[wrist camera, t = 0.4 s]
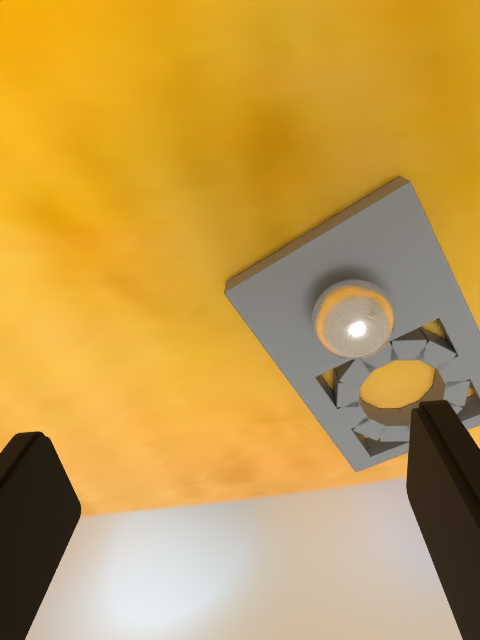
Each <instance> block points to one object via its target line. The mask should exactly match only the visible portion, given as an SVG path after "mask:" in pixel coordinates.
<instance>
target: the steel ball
mask: <svg viewBox="0 0 480 640" xmlns="http://www.w3.org/2000/svg"><path fill="white" fill-rule="evenodd" d="M395 323H396V316H395V310H394V306H393V304H392V302H391V300H390V298H389V297H388V295H387V294H386V293H385V292H384V291H383V290H382V289H381V288H379V287H378V286H376V285H375V284H373V283H371V282H368V281H364V280H359V279H348V280H343V281H340V282H337V283H335V284H333V285H331V286H330V287H328V288H327V289H326V290H325V291H324V292H323V293H322V294H321V295H320V297H319V298H318V300H317V301H316V303H315V306H314V309H313V314H312V325H313V330H314V333H315V335H316V337H317V339H318V341H319V342H320V343H321V345H322V346H323V347H324V348H325V349H326V350H328V351H329V352H330V353H332V354H334V355H336V356H338V357H341V358H344V359H363V358H367V357H370V356H372V355H374V354H376V353H377V352H379V351H380V350H381V349H383V348H384V347H385V346H386V344H387V343H388V342H389V340H390V339H391V337H392V335H393V332H394V329H395Z"/></svg>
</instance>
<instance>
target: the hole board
mask: <svg viewBox="0 0 480 640" xmlns="http://www.w3.org/2000/svg"><path fill="white" fill-rule="evenodd" d="M348 279H359V280H364V281H368V282H371V283H373V284H375V285H376V286H378V287H379V288H381V289H382V290H383V291H384V292H385V293H386V294H387V295H388V297H389V298H390V300H391V302H392V304H393V306H394V310H395V316H396V323H395V329H394V332H393V335H392V337H391V339H390V340H389V342H388V343H387V344H386V346H385V347H384V348H383V349H381V350H380V351H379V352H377V353H376V354H374V355H372V356H370V357H367V358H363V359H344V358H341V357H338V356H336V355H334V354H332V353H330V352H329V351H328V350H326V349H325V348H324V347H323V346H322V345H321V343H320V342H319V341H318V339H317V337H316V335H315V333H314V330H313V325H312V314H313V309H314V306H315V303H316V301H317V300H318V298H319V297H320V295H321V294H322V293H323V292H324V291H325V290H326V289H327V288H328V287H330V286H331V285H333V284H335V283H337V282H340V281H343V280H348ZM224 294H225V295H226V297H227V298H228V299H229V301H230V302H231V303H232V305H233V306H234V308H235V309H236V310H237V312H238V313H239V314H240V316H241V317H242V318H243V320H244V321H245V323H246V324H247V325H248V327H249V328H250V329H251V331H252V332H253V333H254V335H255V336H256V337H257V339H258V340H259V342H260V343H261V344H262V346H263V347H264V348H265V350H266V351H267V352H268V354H269V355H270V356H271V358H272V359H273V361H274V362H275V363H276V365H277V366H278V367H279V369H280V370H281V371H282V373H283V374H284V376H285V377H286V378H287V380H288V381H289V382H290V384H291V385H292V386H293V388H294V389H295V390H296V392H297V393H298V395H299V396H300V397H301V399H302V400H303V401H304V403H305V404H306V405H307V407H308V408H309V409H310V411H311V412H312V414H313V415H314V416H315V418H316V419H317V420H318V422H319V423H320V424H321V426H322V427H323V429H324V430H325V431H326V433H327V434H328V435H329V437H330V438H331V439H332V441H333V442H334V443H335V445H336V446H337V448H338V449H339V450H340V452H341V453H342V454H343V456H344V457H345V458H346V460H347V461H348V462H349V464H350V465H351V467H352V468H353V469H354V471H355V472H358V471H361V470H364V469H366V468H369V467H372V466H374V465H377V464H379V463H382V462H385V461H387V460H390V459H392V458H395V457H398V456H400V455H403V454H406V453H408V452H409V438H410V424H411V411H412V409H413V408H418V407H419V403H420V402H421V401H433V400H447V401H448V402H449V404H450V405H451V407H452V408H453V410H454V411H455V413H456V414H457V416H458V417H459V419H460V420H461V422H462V423H463V425H464V426H465V428H466V429H467V430H468V429H471V428H474V427H476V426H479V425H480V331H479V329H478V327H477V325H476V323H475V320H474V318H473V316H472V314H471V312H470V310H469V307H468V305H467V303H466V301H465V299H464V297H463V294H462V292H461V290H460V288H459V286H458V284H457V281H456V279H455V277H454V275H453V273H452V271H451V269H450V266H449V264H448V262H447V260H446V258H445V256H444V253H443V251H442V249H441V247H440V245H439V243H438V240H437V238H436V236H435V234H434V232H433V230H432V227H431V225H430V223H429V221H428V219H427V217H426V214H425V212H424V210H423V208H422V206H421V204H420V201H419V199H418V197H417V195H416V193H415V191H414V188H413V186H412V184H411V182H410V181H408V180H406V179H404V178H402V177H398V178H396V179H395V180H393V181H392V182H390V183H388V184H387V185H385V186H383V187H382V188H380V189H378V190H377V191H375V192H373V193H372V194H370V195H369V196H367V197H365V198H364V199H362V200H360V201H359V202H357V203H355V204H354V205H352V206H350V207H349V208H347V209H346V210H344V211H342V212H341V213H339V214H337V215H336V216H334V217H332V218H331V219H329V220H327V221H326V222H324V223H323V224H321V225H319V226H318V227H316V228H314V229H313V230H311V231H309V232H308V233H306V234H304V235H303V236H301V237H300V238H298V239H296V240H295V241H293V242H291V243H290V244H288V245H286V246H285V247H283V248H281V249H280V250H278V251H277V252H275V253H273V254H272V255H270V256H268V257H267V258H265V259H263V260H262V261H260V262H258V263H257V264H255V265H254V266H252V267H250V268H249V269H247V270H245V271H244V272H242V273H240V274H239V275H237V276H235V277H234V278H232V279H231V280H229V281H227V283H226V287H225V291H224ZM434 320H437V322H438V324H439V326H440V328H441V330H442V332H443V334H444V336H445V338H446V339H444V338H442V337H440V336H438V335H436V334H434V333H432V332H430V331H428V330H426V329H424V328H422V327H421V326H423V325H425V324H427V323H429V322H432V321H434ZM446 340H447V341H446ZM395 360H420V361H422V362H424V363H426V364H428V365H430V366H432V367H434V368H435V369H436V371H435V376H434V381H433V386H432V387H431V388H430V389H429V391H428V392H427V393H426V394H425V395H424V396H423V397H422V398H421V399H420V400H419V401H417V402H415V403H412V404H410V405H407V406H405V407H403V408H400V409H379V408H377V407H375V406H372V405H370V404H368V403H366V402H364V401H362V399H361V398H360V386H361V385H362V384H363V383H364V381H365V380H366V379H367V378H368V376H369V375H370V374H371V373H372V371H373V370H375V369H377V368H380V367H382V366H384V365H386V364H388V363H390V362H393V361H395ZM335 367H336V368H335ZM333 368H334V382H333V391H332V390H331V388H330V387H329V385H328V384H327V383H326V381H325V380H324V378H323V377H322V375H321V374H323V373H325V372H327V371H329V370H331V369H333ZM469 385H470V387H471V389H472V391H473V393H474V395H472V396H470V397H467V393H468V389H469ZM466 397H467V398H466ZM363 435H365V436H367V437H369V438H367V439H365V438H364V436H363Z"/></svg>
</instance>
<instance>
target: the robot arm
mask: <svg viewBox="0 0 480 640" xmlns="http://www.w3.org/2000/svg"><path fill="white" fill-rule="evenodd" d="M406 488H407V494H408V498H409V501H410V504H411V507H412V509H413V512H414V514H415V517H416V520H417V522H418V525H419V527H420V530H421V532H422V535H423V538H424V540H425V543H426V545H427V548H428V551H429V553H430V556H431V558H432V561H433V563H434V566H435V569H436V571H437V574H438V576H439V579H440V582H441V584H442V587H443V589H444V592H445V594H446V597H447V600H448V602H449V605H450V607H451V610H452V613H453V615H454V618H455V620H456V623H457V625H458V628H459V631H460V633H461V636H462V638H463V640H480V449H479V448H478V446H477V444H476V443H475V441H474V440H473V438H472V437H471V435H470V434H469V432H468V431H467V429H466V428H465V426H464V425H463V423H462V422H461V420H460V419H459V417H458V416H457V414H456V413H455V411H454V410H453V408H452V407H451V405H450V404H449V402H448V401H447V400H433V401H421V402H420V403H419V407H418V408H413V409H412V411H411V424H410V438H409V453H408V468H407V483H406ZM80 515H81V505H80V502H79V500H78V498H77V495H76V493H75V491H74V489H73V487H72V485H71V483H70V480H69V478H68V476H67V474H66V472H65V470H64V468H63V465H62V463H61V461H60V459H59V457H58V455H57V453H56V450H55V448H54V446H53V444H52V442H51V440H50V438H49V437H45V435H44V434H43V433H42V432H25V433H18V434H16V435H15V436H14V437H13V438H12V439H11V440H10V441H9V443H8V444H7V445H6V447H5V448H4V449H3V451H2V452H1V453H0V640H25V638H26V636H27V634H28V631H29V629H30V627H31V625H32V622H33V620H34V618H35V616H36V614H37V611H38V609H39V607H40V605H41V603H42V600H43V598H44V596H45V594H46V592H47V589H48V587H49V585H50V583H51V581H52V578H53V576H54V574H55V572H56V569H57V567H58V565H59V563H60V561H61V558H62V556H63V554H64V552H65V550H66V547H67V545H68V543H69V541H70V538H71V536H72V534H73V532H74V530H75V527H76V525H77V523H78V521H79V518H80Z"/></svg>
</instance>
